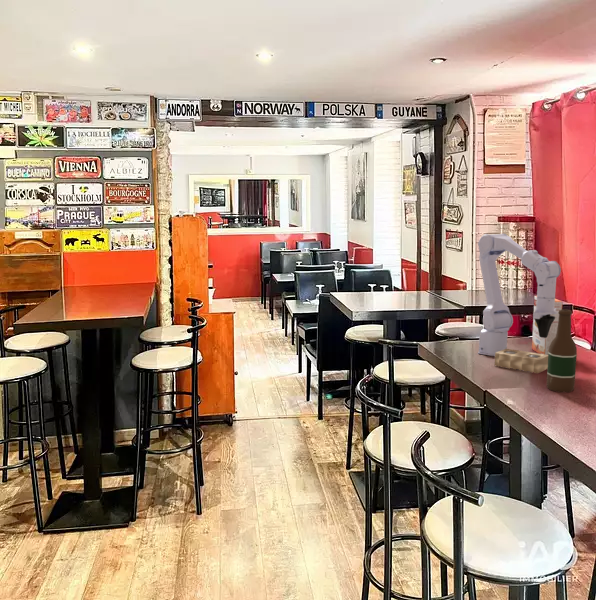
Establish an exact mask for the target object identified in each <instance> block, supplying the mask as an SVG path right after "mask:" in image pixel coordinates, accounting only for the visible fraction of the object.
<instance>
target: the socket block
mask: <svg viewBox="0 0 596 600" xmlns="http://www.w3.org/2000/svg"><path fill="white" fill-rule="evenodd" d="M507 351H512V352H515V354H510V353H506V352H507ZM529 355H537V356H538V358H535V357H529ZM495 365H496V366H495ZM494 366H495V367H499V366H502V367H501V368H504V367H507V369H510V368H513V369H512V370H516V369H519V370H518V371H521V370H524V371H523V372H527V371H530V372H529V373H533V372H534V373H533V374H539V373H542V372H544V371H545V370H546V371H547V368H548V355H544V354H538V353H537V352H531V351H524V350H519V349H518V350H517V349H513V348H507V349H504V350H501V351H499V352H496V353H495V356H494Z"/></svg>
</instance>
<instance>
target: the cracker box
mask: <svg viewBox="0 0 596 600" xmlns="http://www.w3.org/2000/svg"><path fill="white" fill-rule="evenodd" d="M533 296H534V297H533V313H534V312H535V310H536V303H537V295H533ZM563 303H564V302H563V301H562V300H560V299H557V298H555V305H554V308H556V311H558V312H559V310H562V309H563V305H564V304H563ZM550 316H555V319H554V321H553V323H552V325H551V327H550V330H549V333H548V336H547V338H543V337H540V336H539V331H538V326H537V323H536V321H535V319H534V318H533V317H532V318H533V320H532V321H533V322H532V341H531V342H532V343H531V349H532V350H533V352H534V353H538V354H544V355H548V352H549V346H550V344H551V342H552V340H553V339H554V338H555V337H556V333H557V328H558V320H559V314H558V313H557V314H551V315H550Z"/></svg>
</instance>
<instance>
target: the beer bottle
mask: <svg viewBox="0 0 596 600" xmlns="http://www.w3.org/2000/svg"><path fill="white" fill-rule="evenodd" d="M558 314H559V320H558V328H557V333H556V337H555V338H554V339H553V340H552V342H551V344H550V346H549V352H548V368H547V369H546V371H547V374H546V388H547V389H549V391H551V390H552V392H556V391H557V392H558V393H571V392H572V391H574V390H575V383H576V368H577V356H578V353H577V351H578V350H577V345H576V342H575V340H574V339H573V338H572V314H573V311H572V310H570V309H563V308H562V310H559V312H558Z"/></svg>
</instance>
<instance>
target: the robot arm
mask: <svg viewBox="0 0 596 600" xmlns="http://www.w3.org/2000/svg"><path fill="white" fill-rule="evenodd" d="M477 247H478V252H479V257H478V259H479V260H478V261H479V266H480V271H481V276H482V281H483V287H484V293H485V299H486V304H487V306H486V307H485V308H484V310H483V311H482V315H483V317H482V324H483V327H484V328H482V329H481V330H480V334H479V335H478V336H479V337H478V352H477V354H480V355H485V356H486V355H487V356H491V357H495V353H496V352H499V351H501V350H504V349H508V333H509V332H508V331H510V328H511V327H512V326H513V323H514V318H513V315H512V313H511V311H510V307H508V306H507V304H505V303H504V301H503V296H502V289H501V284H500V280H499V274H498V268H497V264H496V262H497V260H498V258H499V257H500V256H502V254H504V253H505V252H508V253H510V254H511V255H513V256H514V257H517V258H518V259H520V262H521V264H522V265H523V266H525V267H526V268H528V269H529V270H530V271H532V272H534V276H535V277H536V283H537V287H536V289H537V291H536V296H537V303H536V310H535V312H534V311H533V314H532V318H534V319H535V321H536V323H537V326H538V331H539V336H540V337H543V338H547V336H548V333H549V330H550V327H551V325H552V323H553V321H554V319H555V316H550V315H551V314H557V313H558V311H556V308H554V305H555V299H556V288H557V278H558V277H559V276H560V275H561V271H562V269H561V266H560V263H558V262H557V260H549V258H548V257H544V256H543V255H541V254H539V253H538V251H537V250H536V249H529V250H527V249H525V248H524V247H522V245H520V244H518V243H517V242H516V241H514V240H513V239H512V236H509V235H507V234H506V233H499V234H497V233H491V234H489V233H484V234H483V235H482V236H481V237H480V238H479V240H478V242H477Z"/></svg>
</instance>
